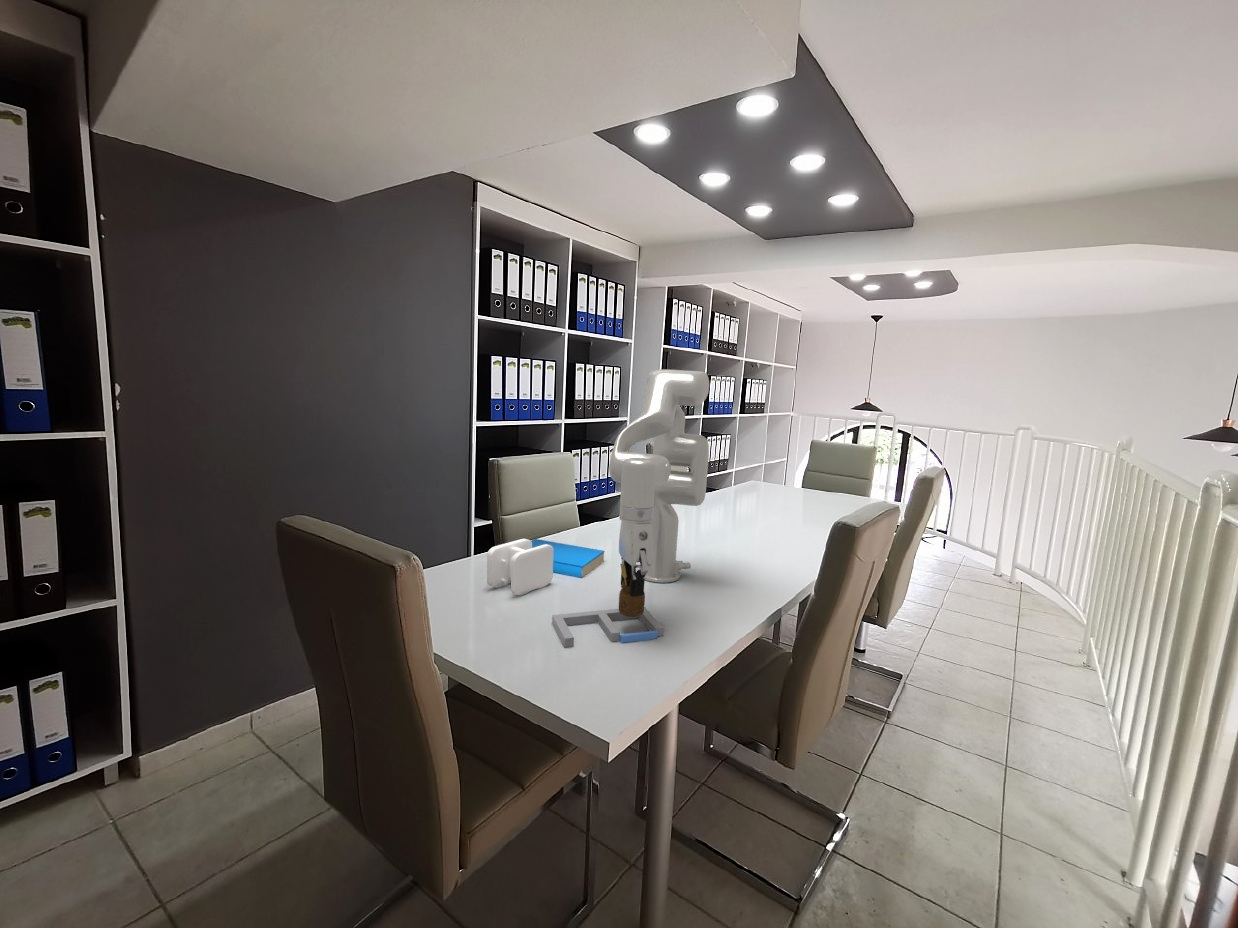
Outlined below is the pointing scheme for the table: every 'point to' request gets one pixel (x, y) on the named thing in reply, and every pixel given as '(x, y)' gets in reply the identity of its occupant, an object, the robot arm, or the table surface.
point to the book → (572, 558)
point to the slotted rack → (606, 625)
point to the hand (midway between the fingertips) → (631, 589)
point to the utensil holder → (629, 599)
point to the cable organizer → (520, 566)
